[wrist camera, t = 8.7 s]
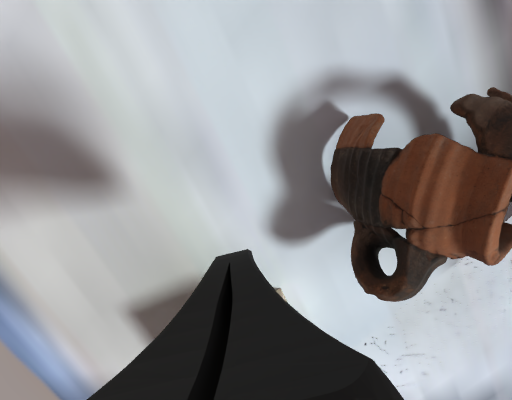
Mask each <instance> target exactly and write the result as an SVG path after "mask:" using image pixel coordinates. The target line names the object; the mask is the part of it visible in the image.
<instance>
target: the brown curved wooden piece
mask: <svg viewBox="0 0 512 400" xmlns="http://www.w3.org/2000/svg"><path fill="white" fill-rule="evenodd" d="M487 95H488V96H490V97H482V96H479V95H476V94H469V95H466V96H464V97H462V98H460V99H458V100H456V101H455V102H454V103H453V104H452V105H451V107H450V109H451V111H452V112H453V113H455V114H456V115H459V116H461V117H463V118H466V121H467V124H468V125H469V126H470V128H471V129H472V131H473V134H474V136H475V138H476V144H477V147H478V152H475V151H474V150H473V149H471V148H469V147H467V146H463V145H461V144H459V143H458V142H455V141H453V140H451V139H448V138H446V137H445V136H443V135H440V134H437V133H434V134H431V135H422V136H419V137H416V138H414V139H413V140H412V141H411V142H410V143H409V144H407V145H406V147H405V148H404V149H400V148H385V149H371V148H372V145H373V142H374V139H375V137H376V135H377V133H378V131H379V129H380V127H381V126H382V124H383V123H384V117H383V116H382V115H381V114H370V115H362V116H354V117H352V118H351V119H350V120H349V122H348V123H347V124H346V126H345V127H344V129H343V131H342V133H341V135H340V137H339V140H338V143H337V146H336V150H335V151H334V155H333V161H332V165H331V186H332V190H333V192H334V194H335V197H336V198H337V200H338V202H339V203H340V204H341V205H343V206H344V208H345V209H346V210H347V211H348V212H349V213H350V214H351V215H352V216H353V218H354V219H355V220H356V221H354V228H355V233H354V237H353V241H352V247H351V262H352V266H353V270H354V273H355V277H356V278H357V280H358V283H359V284H360V285H361V287H363V289H364V291H365V293H367V294H373V295H375V296H377V298H378V299H380V300H384V301H392V302H396V301H403V300H407V299H409V298H412V297H413V296H415V295H416V294H417V293H418V292H419V291H420V290H421V289H422V288H423V286H424V285H425V284H426V282H427V280H428V278H429V277H430V275H431V273H432V272H433V271H434V270H435V269H436V268H437V267H439V266H440V265H442V264H444V263H445V262H446V260H447V257H449V258H451V259H458V258H463V257H465V256H469V257H472V258H474V259H477V260H479V261H482V262H483V263H485V264H486V265H496V264H498V263H499V262H500V261H501V260H502V259H503V258H504V257H505V256H506V254H507V253H508V252H509V251H510V250H511V248H512V224H508V223H505V222H503V221H504V216H505V214H506V212H507V209H508V206H509V203H510V202H512V96H511V95H510V94H508V93H506V92H502V91H500V90H498V89H496V88H494V87H493V88H490V89H489V90H488V91H487ZM392 228H395V229H406V239H405V238H403V237H402V236H401V235H399V234H398V233H397V232H396V231H395V230H393V229H392ZM386 247H388V248H393V249H395V252H396V256H397V268H396V270H395V272H394V273H393V275H391V276H387V275H386V274H385V273H384V272H383V270H382V269H381V267H380V264H379V260H378V254H379V251H380V250H381V249H382V248H386Z"/></svg>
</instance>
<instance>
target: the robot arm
mask: <svg viewBox="0 0 512 400" xmlns="http://www.w3.org/2000/svg"><path fill="white" fill-rule="evenodd" d="M87 400H404V399H403V397H402V396H401V395H400V393H399V392H398V390H397V389H396V388H395V386H394V385H393V384H392V383H391V381H390V380H389V379H388V378H387V376H386V375H385V374H384V373H383V372H382V370H381V369H380V368H379V367H378V366H377V364H376V363H375V362H374V361H373V360H372V359H371V358H369V357H367V356H365V355H363V354H361V353H359V352H357V351H355V350H353V349H352V348H350V347H348V346H346V345H345V344H343V343H341V342H339V341H338V340H336V339H335V338H333V337H331V336H330V335H328V334H327V333H325V332H324V331H322V330H321V329H319V328H318V327H317V326H315V325H314V324H313V323H311V322H310V321H309V320H307V319H306V318H305V317H303V316H302V315H301V314H299V313H298V312H297V311H296V310H295V309H294V308H293V307H291V306H290V305H289V304H288V303H287V302H286V301H285V300H284V299H283V298H282V297H281V296H280V295H279V294H278V293H277V292H276V291H275V289H274V288H273V287H272V286H271V285H270V284H269V282H268V281H267V280H266V278H265V277H264V276H263V274H262V273H261V271H260V270H259V268H258V267H257V265H256V263H255V261H254V259H253V255H252V252H251V251H250V250H248V249H246V250H242V251H238V252H234V253H230V254H226V255H222V256H218V257H216V258H215V260H214V261H213V263H212V264H211V266H210V267H209V269H208V271H207V272H206V274H205V275H204V277H203V279H202V280H201V282H200V283H199V285H198V286H197V288H196V289H195V291H194V292H193V294H192V295H191V296H190V298H189V299H188V300H187V302H186V303H185V304H184V306H183V307H182V308H181V310H180V311H179V312H178V314H177V315H176V316H175V317H174V318H173V320H172V321H171V322H170V323H169V324H168V325H167V326H166V328H165V329H164V330H163V331H162V332H161V333H160V334H159V335H158V336H157V337H156V338H155V340H154V341H152V342H151V343H150V344H149V345H148V346H147V347H146V348H145V349H144V350H143V351H142V352H141V353H140V354H139V355H138V356H137V357H136V358H135V359H134V360H133V361H132V362H131V363H130V364H129V365H128V366H126V367H125V368H124V369H123V370H122V371H121V372H120V373H118V374H117V375H116V376H115V377H114V378H113V379H112V380H110V381H109V382H108V383H107V384H105V385H104V386H103V387H102V388H101V389H99V390H98V391H97V392H96V393H95V394H93V395H92V396H91V397H89V398H88V399H87Z"/></svg>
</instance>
